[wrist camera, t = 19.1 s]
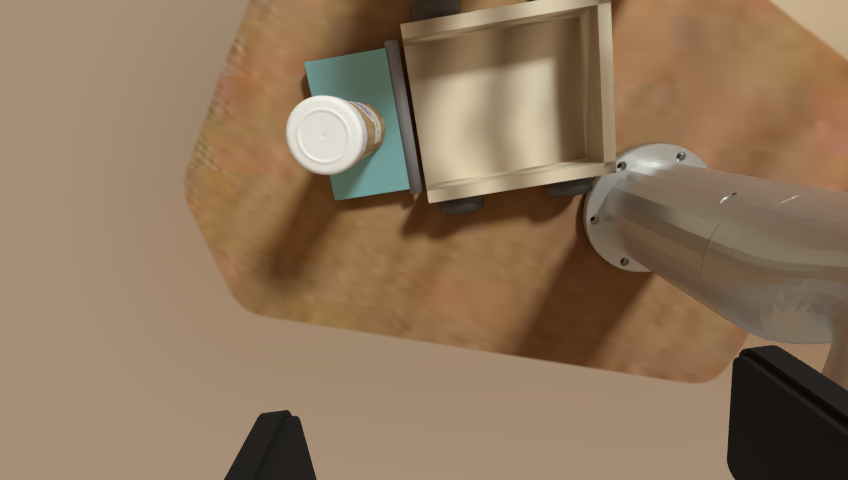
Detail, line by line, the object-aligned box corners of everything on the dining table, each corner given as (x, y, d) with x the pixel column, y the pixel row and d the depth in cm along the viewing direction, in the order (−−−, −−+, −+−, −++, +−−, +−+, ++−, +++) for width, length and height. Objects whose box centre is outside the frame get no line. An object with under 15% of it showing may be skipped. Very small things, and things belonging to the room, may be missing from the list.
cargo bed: (583, -16, 36) (609, -37, 31) (593, 182, 41) (617, 191, 36) (398, 16, 36) (396, 0, 32) (429, 209, 41) (431, 221, 36)
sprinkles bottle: (394, 115, 37) (375, 115, 24) (374, 163, 38) (346, 188, 25) (345, 93, 36) (298, 80, 23) (326, 142, 38) (272, 157, 25)
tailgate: (397, 38, 35) (302, 56, 35) (422, 192, 39) (336, 206, 39) (398, 41, 36) (306, 57, 37) (422, 190, 40) (338, 203, 40)
